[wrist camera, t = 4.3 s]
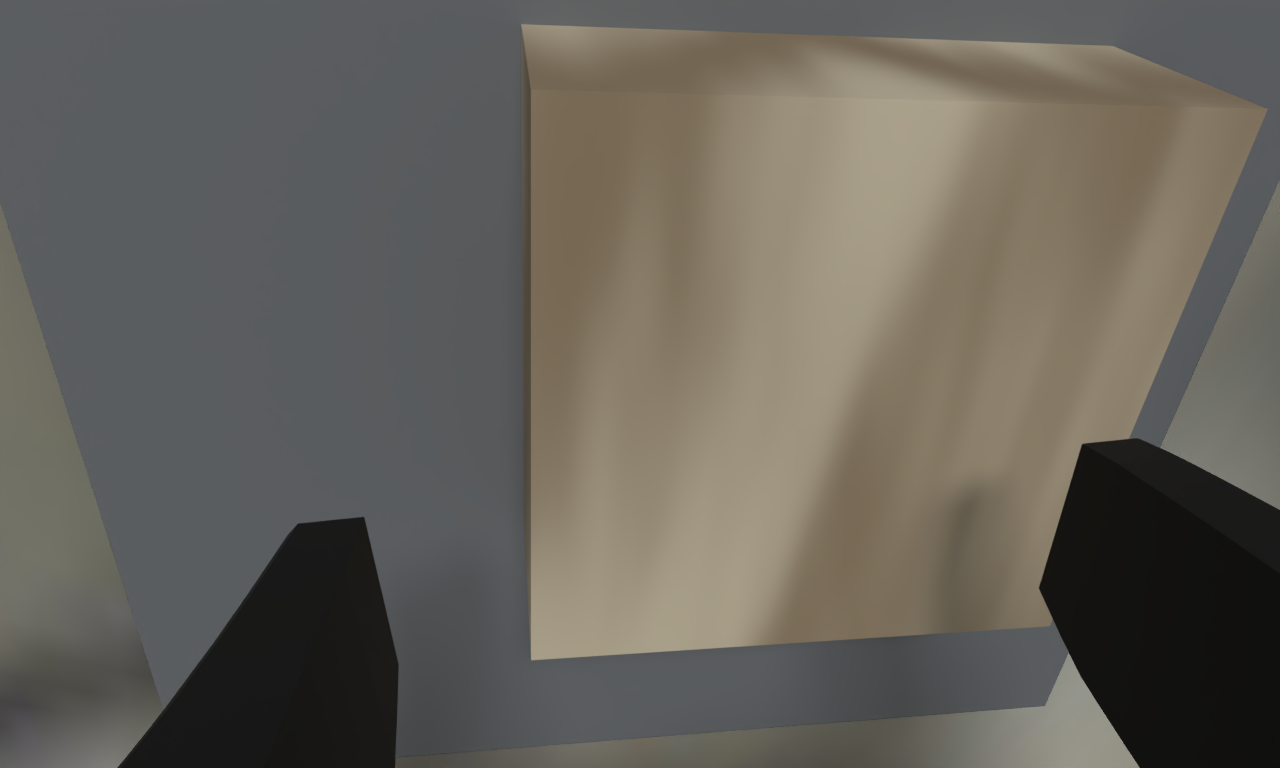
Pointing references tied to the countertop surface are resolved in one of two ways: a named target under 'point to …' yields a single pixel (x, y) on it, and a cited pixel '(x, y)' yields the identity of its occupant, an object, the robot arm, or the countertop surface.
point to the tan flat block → (836, 321)
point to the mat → (432, 327)
